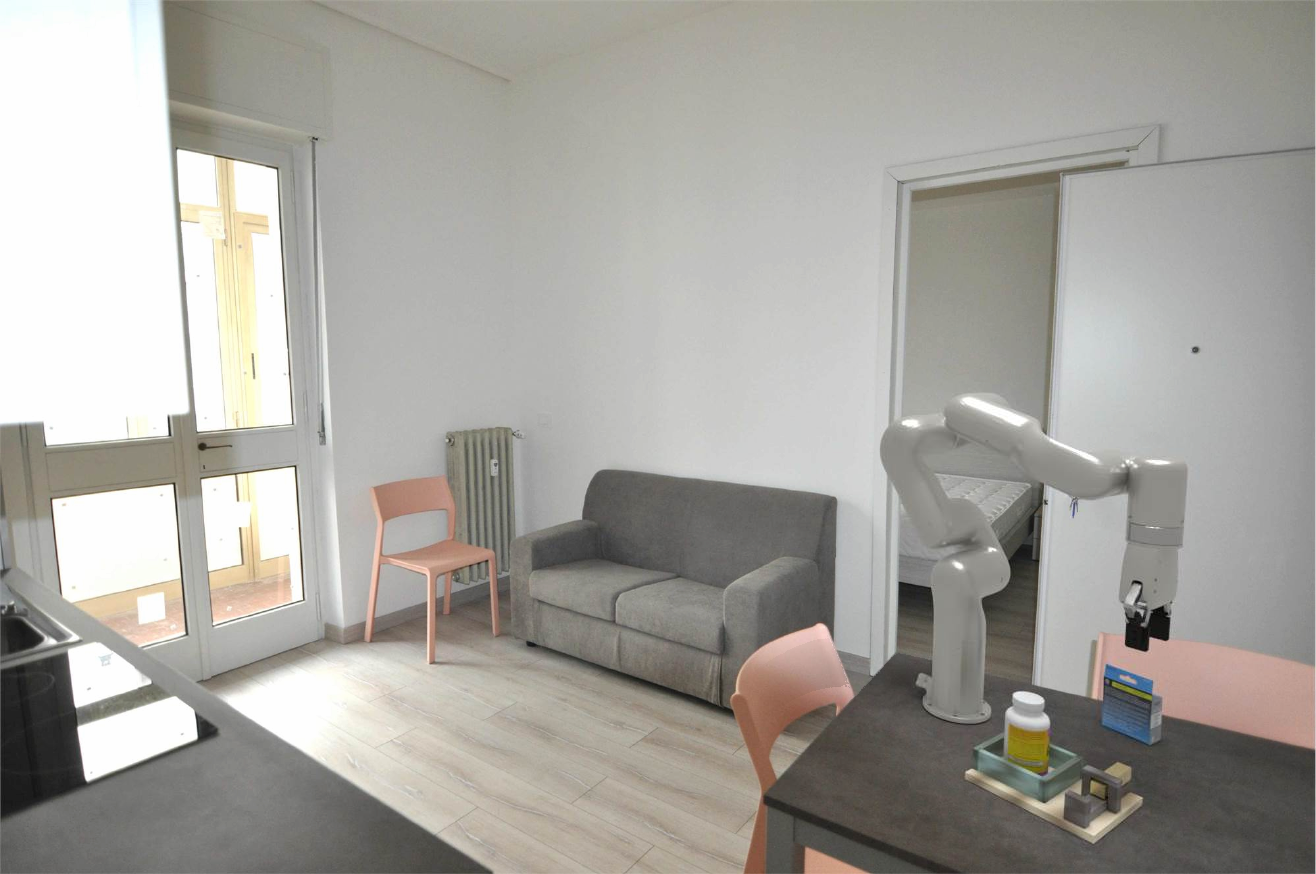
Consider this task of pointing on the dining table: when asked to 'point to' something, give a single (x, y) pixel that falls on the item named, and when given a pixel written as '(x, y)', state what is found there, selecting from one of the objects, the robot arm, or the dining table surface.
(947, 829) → the dining table surface
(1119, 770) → the lock bolt
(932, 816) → the dining table surface
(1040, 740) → the supplement bottle
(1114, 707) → the label tape box
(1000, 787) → the dock
